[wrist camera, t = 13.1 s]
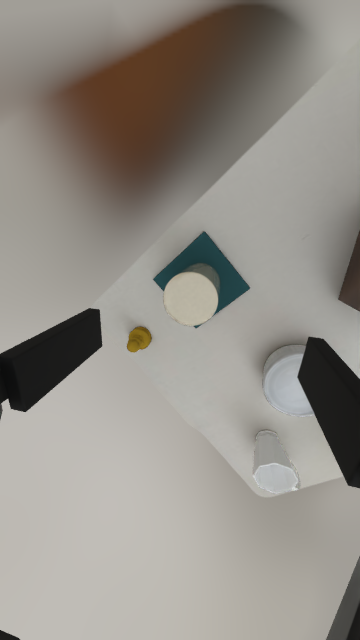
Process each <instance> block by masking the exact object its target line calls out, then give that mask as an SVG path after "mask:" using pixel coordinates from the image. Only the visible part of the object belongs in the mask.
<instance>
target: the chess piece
mask: <svg viewBox="0 0 360 640" xmlns="http://www.w3.org/2000/svg"><path fill="white" fill-rule="evenodd" d="M151 339H152V337H151V334H150V332H149V331H148V330H147V329H146V328H144V327H137V328H135V329H134V330H133V331H132V332H131V333H130V334H129V341H128V344H127V349H128V350H129V351H130V352H136V351H138V350H139V349H145V348H146V347H147V346H148V345H149V343H150V342H151Z"/></svg>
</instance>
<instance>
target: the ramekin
mask: <svg viewBox="0 0 360 640" xmlns="http://www.w3.org/2000/svg"><path fill="white" fill-rule="evenodd" d="M305 348H306V346H305V345H288V346H284V347H281V348H280V349H277V350H276V351H274V352H273V353H272V354H271V355H270V356H269V358H268V359H267V361H266V363H265V365H264V376H263V382H262V385H263V391H264V394H265V397H266V399H267V400H268V402H269V403H270V404H271V405H272V406H273V407H274V408H275V409H277V410H278V411H280V412H282V413H285V414H288V415H292V416H298V417H307V416H314V415H315V414H314V412H313V410H312V408H311V406H310V403H309V401H308V399H307V397H306V395H305V393H304V391H303V389H302V387H301V384H300V382H299V380H298V378H297V376H298V372H299V369H300V365H301V362H302V358H303V355H304V352H305Z"/></svg>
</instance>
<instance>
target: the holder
mask: <svg viewBox="0 0 360 640" xmlns="http://www.w3.org/2000/svg"><path fill="white" fill-rule="evenodd" d="M338 300H340V301H342V302H344V303H345V304H347V305H349V306H351V307H353V308H354V309H356V310H358V311H360V231H359V235H358V238H357V241H356V244H355V247H354V251H353V254H352V257H351V260H350V263H349V266H348V270H347V273H346V276H345V279H344V282H343V286H342V289H341V292H340V295H339V298H338Z"/></svg>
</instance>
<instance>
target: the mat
mask: <svg viewBox="0 0 360 640" xmlns="http://www.w3.org/2000/svg"><path fill="white" fill-rule="evenodd" d="M195 263H204V264H208V265H210V266H211V267H213V268H214V269H215V270H216V271H217V273H218V275H219V277H220V282H221V286H220V293H219V299H218V305H217V309H216V311H215V313H214V314H213V316H214V315H215V314H216V313H218V312H219V311H220V310H222V309H223V308H224V307H226V306H227V305H228V304H230V303H231V302H232V301H234V300H235V299H236V298H238V297H239V296H241V295H242V294H243V293H245V292H246V291H247V290H249V289H250V287H249V286H248V285H247V284H246V282H245V281H244V280H243V279H242V277H241V276H240V275H239V274H238V272H237V271H236V270H235V269H234V267H233V266H232V265H231V264H230V262H229V261H228V260H227V259H226V257H225V256H224V255H223V254H222V252H221V251H220V250H219V249H218V247H217V246H216V245H215V244H214V242H213V241H212V240H211V239H210V237H209V236H208V235H207V234H206V232H203V233H202V234H201V235H200V236H199V237H198V238H197V239H196V240H195V241H194V242H193V243H191V244H190V245H189V246H188V247H187V248H186V249H185V250H184V251H183V252H182V253H181V254H180V255H179V256H177V257H176V258H175V259H174V260H173V261H172V262H171V263H170V264H169V265H168V266H167V267H166V268H165V269H163V270H162V271H161V272H160V273H159V274H158V275H157V276H156V277H155V278H154V279H153V280H154V281H155V282H156V283H157V284H158V285H159V287H160V288H161V289H162V290H163V291H164V290H165V287H166V285H167V284H168V282H169V281H170V280H171V279H172V278H173V277H174V276H176V275H177V274H179V273H180V272H181V271H183V270H184V269H185V268H187V267H188V266H190V265H192V264H195ZM200 325H201V324H200ZM200 325H195V326H194V327H195V328H197V327H199V326H200Z"/></svg>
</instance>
